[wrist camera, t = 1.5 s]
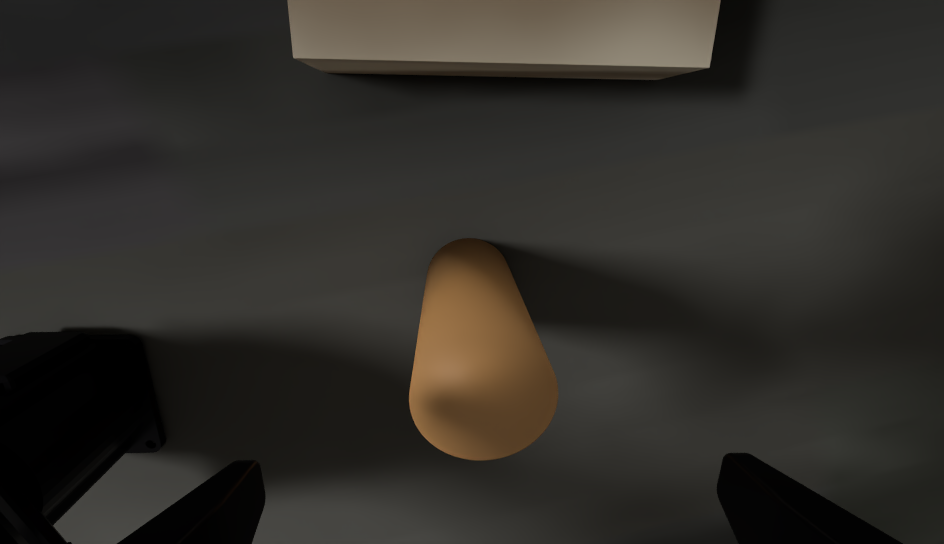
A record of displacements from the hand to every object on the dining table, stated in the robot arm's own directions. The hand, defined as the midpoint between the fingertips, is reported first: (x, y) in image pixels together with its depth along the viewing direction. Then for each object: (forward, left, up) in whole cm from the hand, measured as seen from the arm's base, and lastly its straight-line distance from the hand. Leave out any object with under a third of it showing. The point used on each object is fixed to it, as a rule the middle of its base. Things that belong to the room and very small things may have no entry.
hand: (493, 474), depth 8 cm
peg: (-1, 0, -13) cm, 13 cm away
